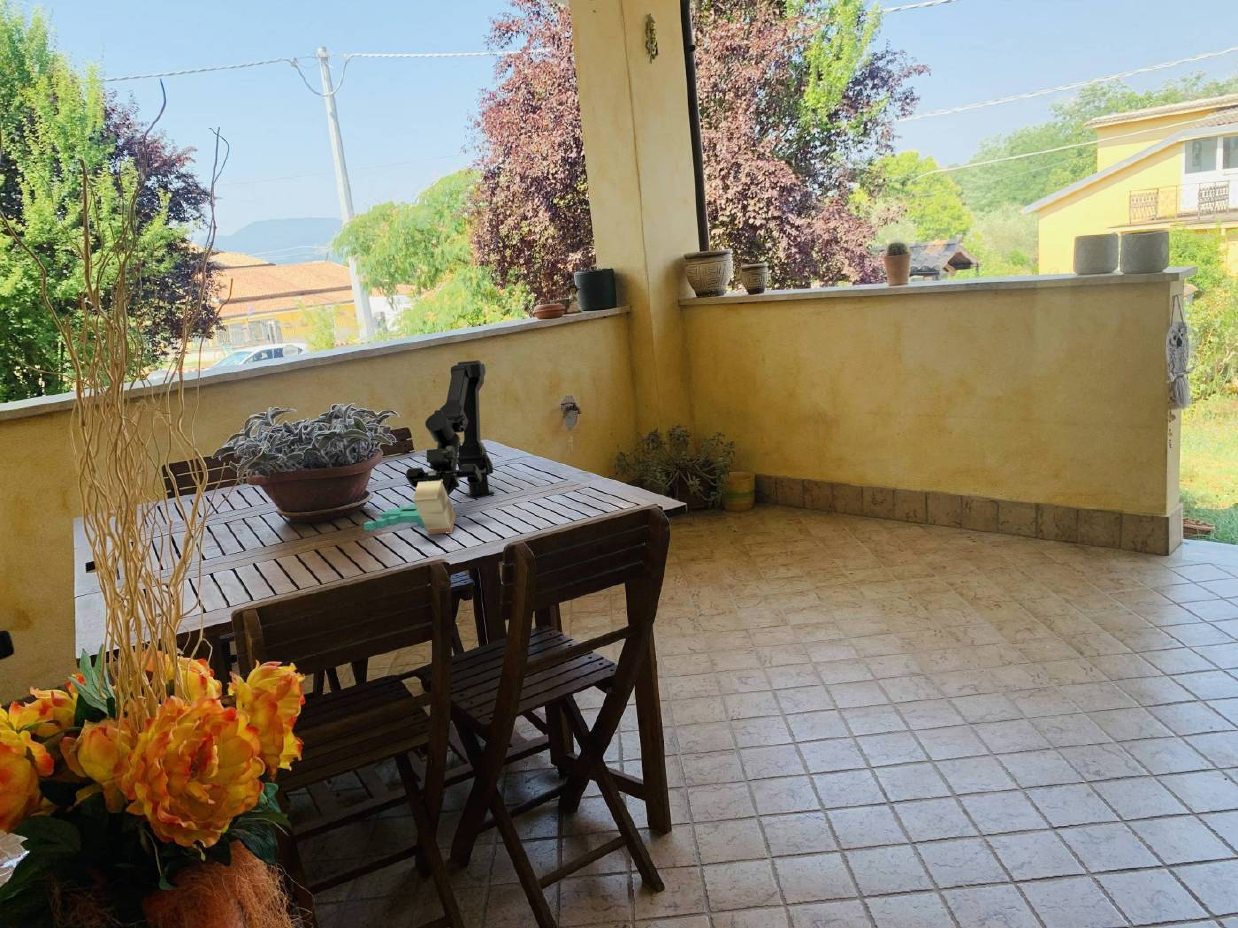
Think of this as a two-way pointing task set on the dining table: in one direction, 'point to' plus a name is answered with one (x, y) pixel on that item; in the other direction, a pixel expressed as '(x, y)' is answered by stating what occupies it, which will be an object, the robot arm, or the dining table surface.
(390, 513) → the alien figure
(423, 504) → the maple block
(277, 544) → the dining table surface
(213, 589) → the dining table surface
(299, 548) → the dining table surface
